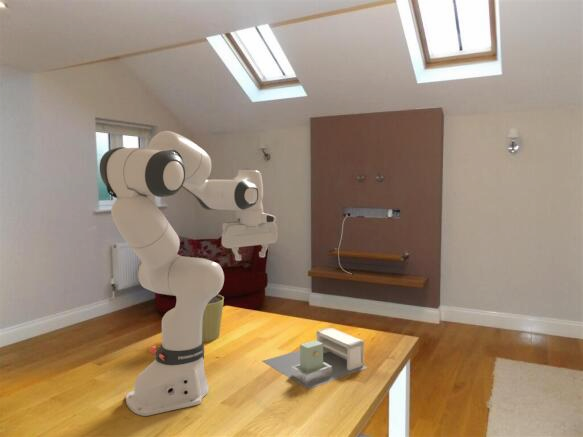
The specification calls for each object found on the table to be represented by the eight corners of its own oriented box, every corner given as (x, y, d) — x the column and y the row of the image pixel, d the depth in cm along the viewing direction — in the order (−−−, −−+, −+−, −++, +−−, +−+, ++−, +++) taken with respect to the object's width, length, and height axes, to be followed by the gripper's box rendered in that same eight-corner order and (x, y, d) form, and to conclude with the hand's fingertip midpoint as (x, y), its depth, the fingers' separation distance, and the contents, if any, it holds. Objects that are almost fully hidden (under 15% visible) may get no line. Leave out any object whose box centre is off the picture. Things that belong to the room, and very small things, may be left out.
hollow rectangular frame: (305, 385, 133) (305, 375, 132) (291, 376, 138) (291, 366, 138) (331, 375, 139) (332, 366, 138) (316, 367, 144) (316, 358, 144)
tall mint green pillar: (309, 382, 134) (309, 349, 133) (300, 376, 138) (300, 344, 137) (325, 376, 138) (325, 344, 137) (315, 371, 142) (315, 340, 141)
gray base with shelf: (308, 393, 130) (308, 362, 129) (262, 364, 149) (261, 337, 148) (367, 371, 144) (368, 343, 144) (318, 347, 164) (318, 322, 163)
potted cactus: (175, 341, 169) (173, 261, 166) (195, 328, 184) (194, 254, 180) (213, 346, 164) (211, 264, 161) (231, 332, 179) (230, 256, 176)
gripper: (227, 220, 145) (227, 263, 146) (280, 216, 157) (280, 256, 158) (217, 219, 150) (218, 260, 151) (269, 215, 162) (269, 254, 163)
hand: (250, 258), depth 155 cm, fingers open, 8 cm apart
